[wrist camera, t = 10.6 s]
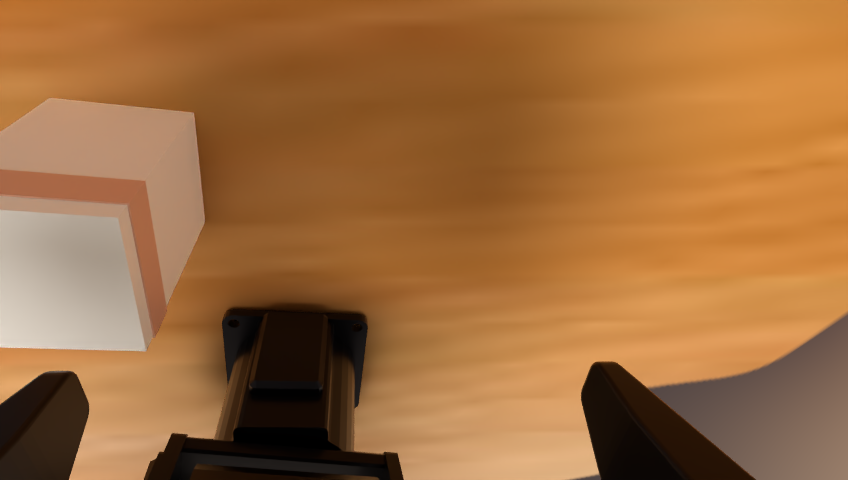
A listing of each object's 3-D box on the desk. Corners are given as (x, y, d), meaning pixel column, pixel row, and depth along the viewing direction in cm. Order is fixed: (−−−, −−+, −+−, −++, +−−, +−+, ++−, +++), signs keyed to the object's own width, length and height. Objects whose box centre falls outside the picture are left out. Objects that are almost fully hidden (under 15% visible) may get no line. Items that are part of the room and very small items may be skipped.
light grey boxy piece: (206, 222, 21) (148, 352, 15) (78, 214, 20) (-35, 347, 14) (195, 111, 18) (119, 216, 12) (47, 95, 17) (-107, 200, 12)
